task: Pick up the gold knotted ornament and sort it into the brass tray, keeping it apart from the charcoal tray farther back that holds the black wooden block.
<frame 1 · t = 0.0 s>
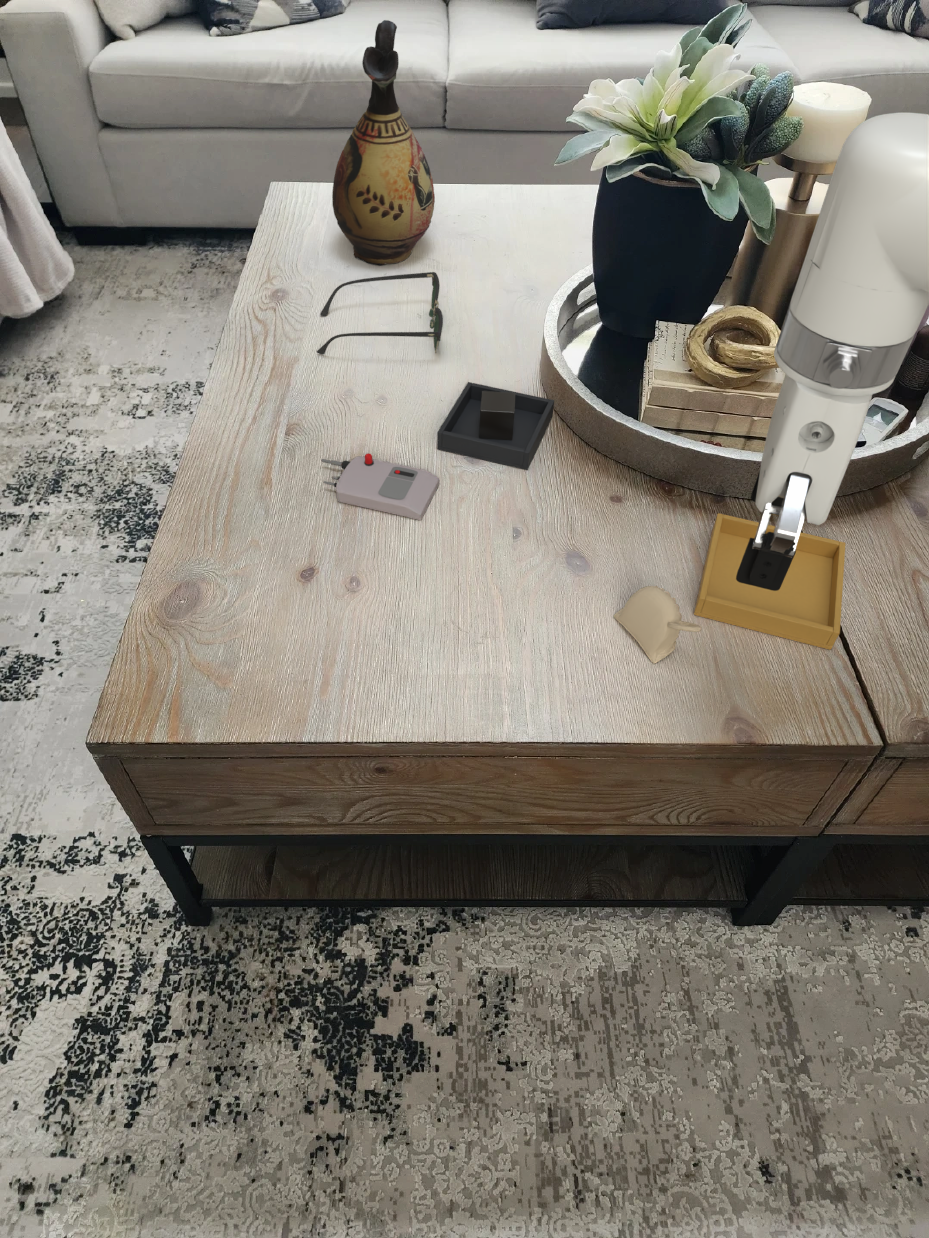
hand: (763, 541, 66), 17 cm above the table, tool pointing down, fingers open, 9 cm apart
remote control: (380, 492, 96), on the table
black block: (496, 429, 103), resting on charcoal tray
ceramic jug: (386, 250, 135), on the table
decorative ornament: (650, 639, 82), on the table
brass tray: (767, 586, 87), on the table
sunglasses: (380, 335, 118), on the table
charcoal tray: (496, 433, 103), on the table
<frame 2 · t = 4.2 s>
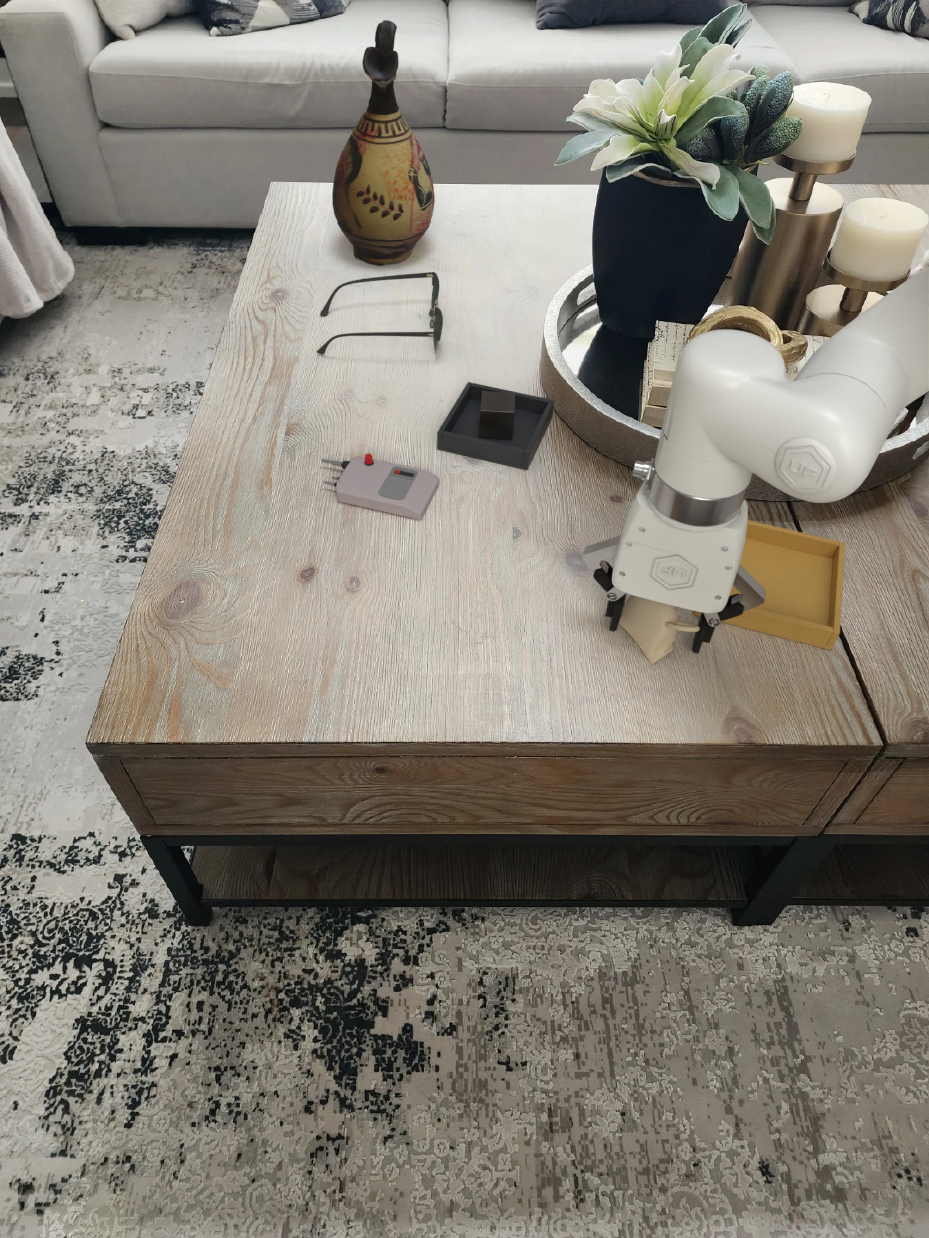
hand: (656, 630, 81), 1 cm above the table, tool pointing down, fingers closed on decorative ornament, 7 cm apart
decorative ornament: (649, 639, 82), on the table, touching gripper
everything else where it was.
when the fingers open (2 cm above the table, at t = 10.4 s): decorative ornament stays where it is, resting on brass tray.
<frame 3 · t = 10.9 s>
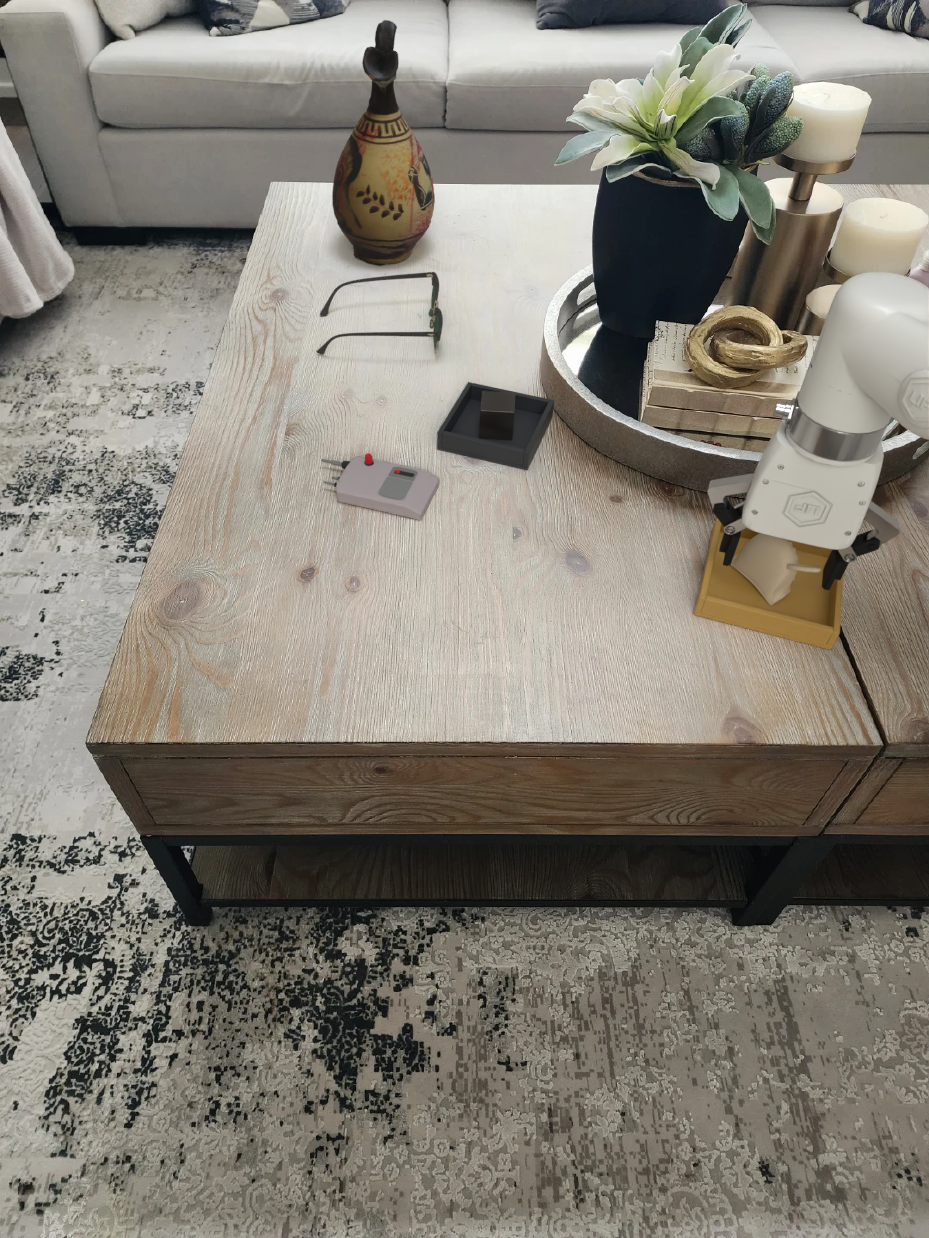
hand: (776, 568, 85), 3 cm above the table, tool pointing down, fingers open, 9 cm apart
decorative ornament: (765, 583, 87), resting on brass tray
everything else where it was.
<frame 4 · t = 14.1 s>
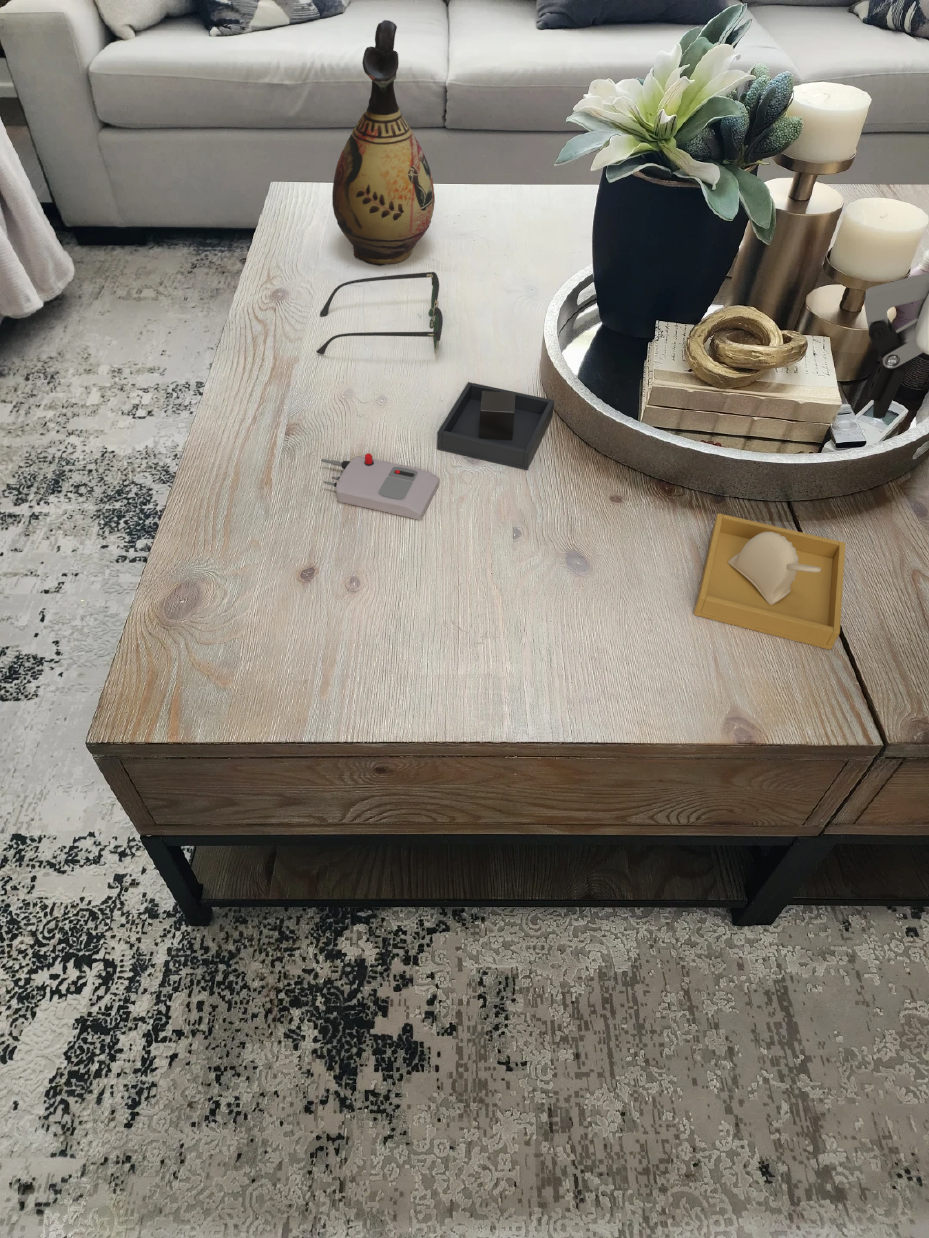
nothing on the table moved.
at the end: decorative ornament inside the target area in the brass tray (0.4 cm from its centre), point 0.3 cm above the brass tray's base; the gripper is holding nothing; black block moved 0.0 cm from its start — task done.
